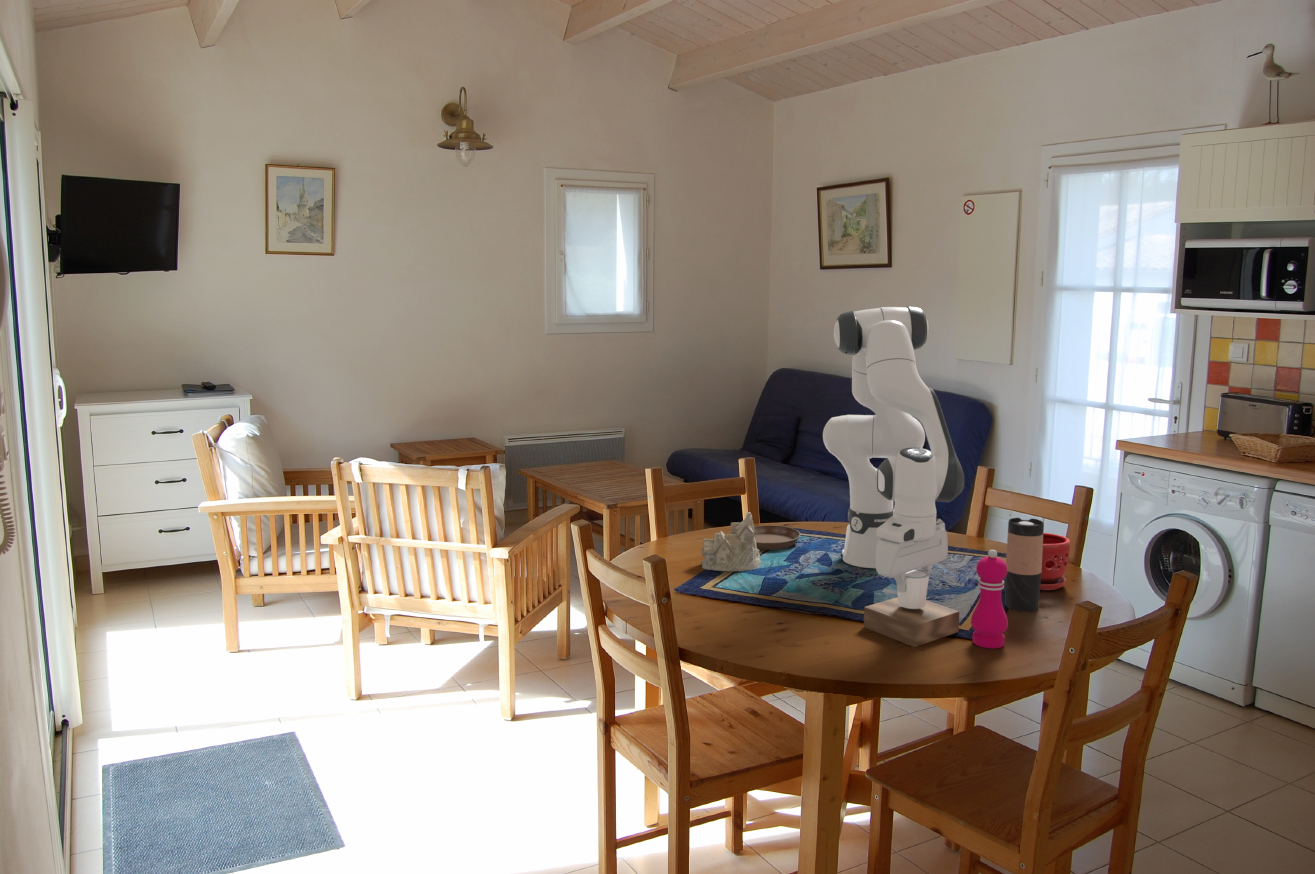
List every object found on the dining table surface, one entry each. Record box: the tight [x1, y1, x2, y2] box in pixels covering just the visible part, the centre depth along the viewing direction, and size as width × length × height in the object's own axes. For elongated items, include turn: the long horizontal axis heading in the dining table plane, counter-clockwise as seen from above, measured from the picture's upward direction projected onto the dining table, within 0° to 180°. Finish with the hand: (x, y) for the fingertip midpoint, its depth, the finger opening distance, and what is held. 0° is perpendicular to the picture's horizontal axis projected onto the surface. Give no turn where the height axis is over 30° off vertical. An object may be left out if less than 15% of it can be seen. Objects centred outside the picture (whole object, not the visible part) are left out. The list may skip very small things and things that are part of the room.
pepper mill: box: [970, 549, 1009, 649], centre depth 200 cm, size 7×7×20 cm
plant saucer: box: [754, 524, 801, 551], centre depth 277 cm, size 18×18×3 cm
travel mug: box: [1004, 517, 1045, 613], centre depth 222 cm, size 8×8×20 cm
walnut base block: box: [863, 596, 960, 648], centre depth 210 cm, size 14×14×5 cm
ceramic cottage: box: [701, 511, 762, 572], centre depth 258 cm, size 16×16×15 cm
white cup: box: [896, 569, 930, 609], centre depth 209 cm, size 7×7×7 cm
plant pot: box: [1040, 532, 1071, 591], centre depth 237 cm, size 13×13×12 cm
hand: (912, 588), depth 209 cm, fingers closed on white cup, 5 cm apart
